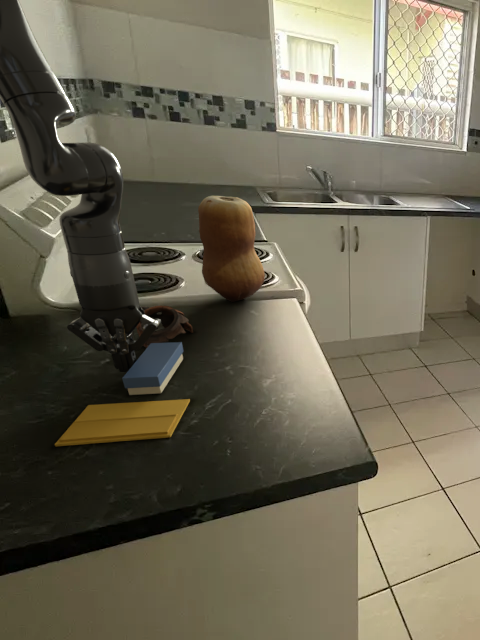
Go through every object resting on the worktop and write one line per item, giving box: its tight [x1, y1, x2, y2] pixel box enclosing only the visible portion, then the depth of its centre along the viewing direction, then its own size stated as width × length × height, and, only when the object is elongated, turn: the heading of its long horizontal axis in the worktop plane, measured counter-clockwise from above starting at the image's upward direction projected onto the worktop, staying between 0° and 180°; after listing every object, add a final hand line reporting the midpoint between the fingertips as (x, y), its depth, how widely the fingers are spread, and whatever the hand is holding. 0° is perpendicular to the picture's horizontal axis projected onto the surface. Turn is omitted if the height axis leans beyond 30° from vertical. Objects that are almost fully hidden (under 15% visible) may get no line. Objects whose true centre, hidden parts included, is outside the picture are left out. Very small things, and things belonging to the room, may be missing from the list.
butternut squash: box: [197, 195, 266, 303], centre depth 115 cm, size 14×13×25 cm
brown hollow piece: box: [135, 304, 194, 349], centre depth 96 cm, size 12×10×8 cm
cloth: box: [54, 398, 191, 447], centre depth 73 cm, size 14×10×1 cm
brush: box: [121, 341, 184, 396], centre depth 84 cm, size 5×13×4 cm, turn 17°
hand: (127, 369), depth 83 cm, fingers closed
